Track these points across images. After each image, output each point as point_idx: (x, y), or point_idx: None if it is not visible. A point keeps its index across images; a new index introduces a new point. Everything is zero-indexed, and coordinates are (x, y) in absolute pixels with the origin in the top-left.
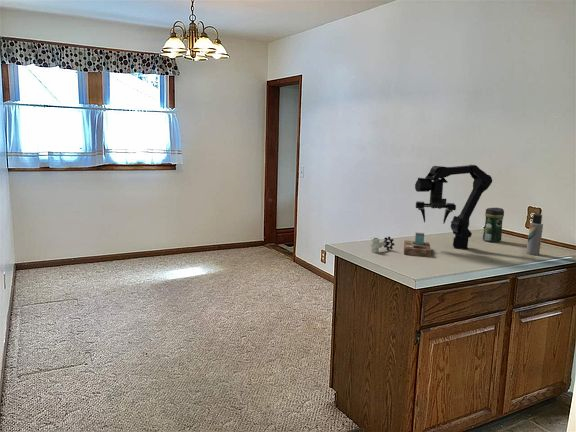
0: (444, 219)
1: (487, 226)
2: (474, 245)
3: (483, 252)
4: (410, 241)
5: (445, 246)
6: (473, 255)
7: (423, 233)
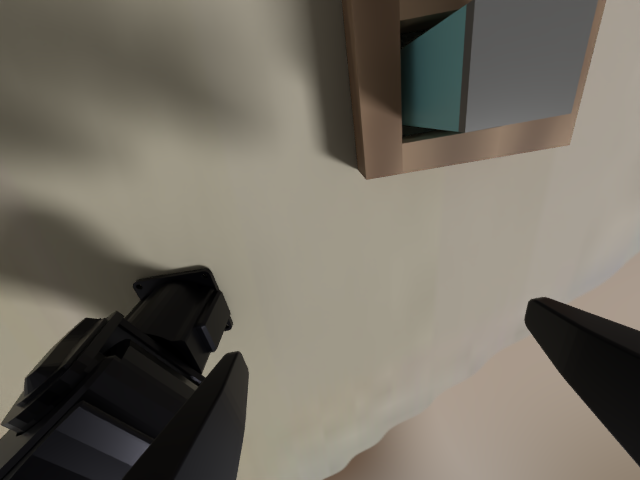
0: (200, 415)
1: None
2: None
3: (34, 260)
4: (523, 125)
5: (268, 287)
6: (29, 125)
7: (474, 103)
